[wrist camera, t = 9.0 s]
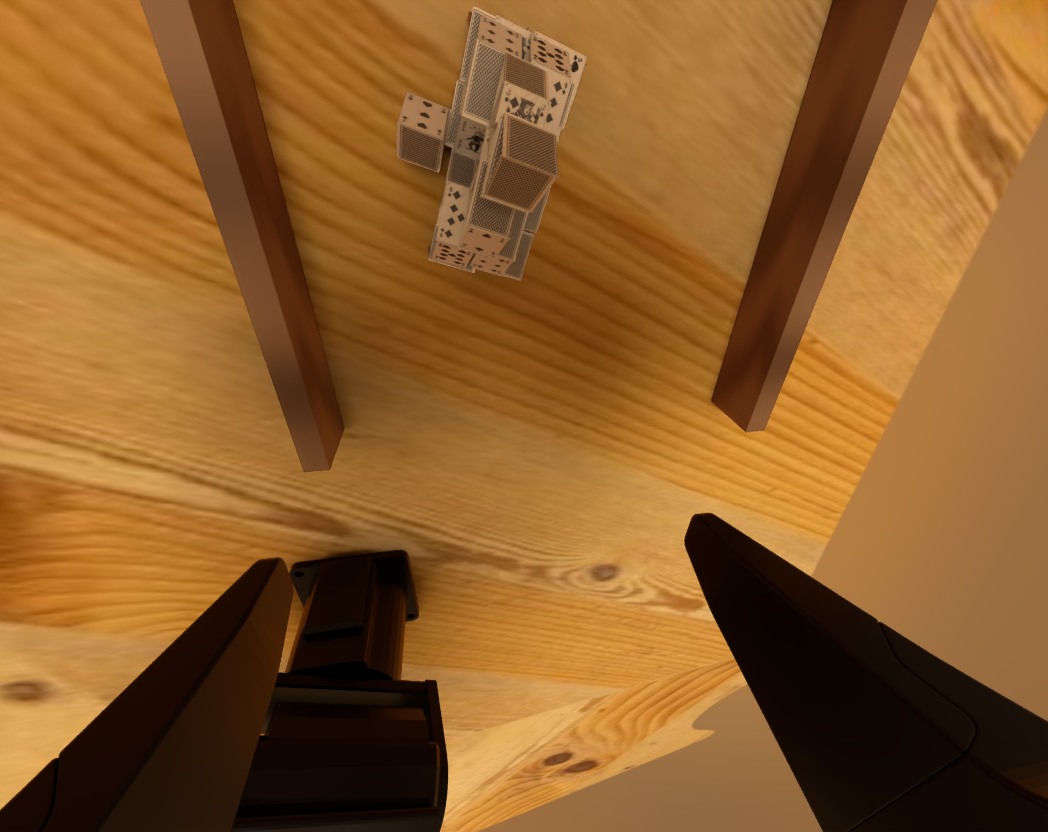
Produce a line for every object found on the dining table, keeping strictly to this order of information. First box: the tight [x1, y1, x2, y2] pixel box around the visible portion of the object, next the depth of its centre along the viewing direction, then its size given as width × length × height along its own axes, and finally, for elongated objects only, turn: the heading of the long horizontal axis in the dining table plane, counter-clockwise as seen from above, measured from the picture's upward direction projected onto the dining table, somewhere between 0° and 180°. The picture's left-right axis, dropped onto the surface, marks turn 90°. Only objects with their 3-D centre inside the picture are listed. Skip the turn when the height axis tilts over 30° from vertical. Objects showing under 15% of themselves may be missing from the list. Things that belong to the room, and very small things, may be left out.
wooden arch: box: [140, 0, 937, 472], centre depth 14 cm, size 20×21×3 cm
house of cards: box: [397, 6, 587, 281], centre depth 11 cm, size 9×9×8 cm
